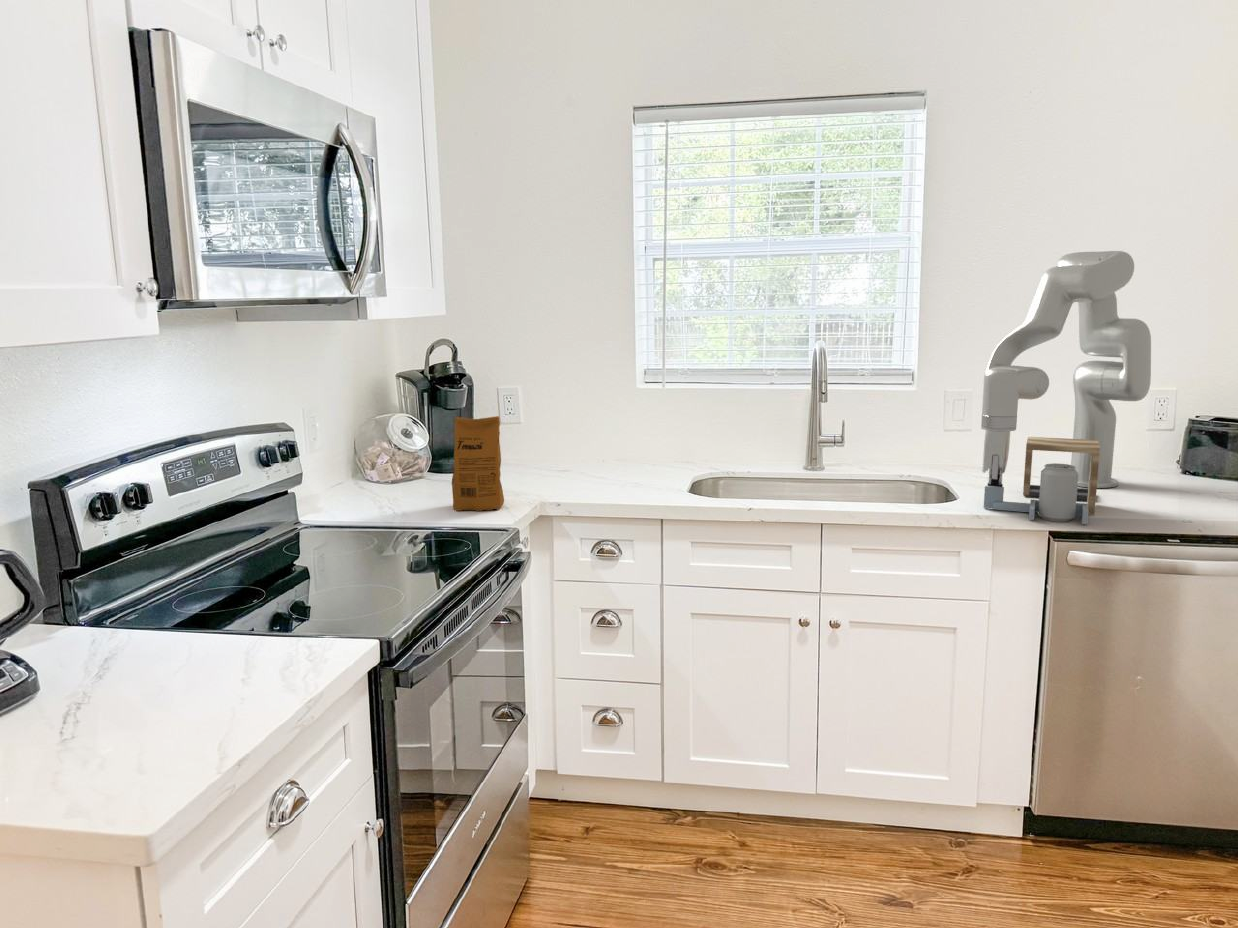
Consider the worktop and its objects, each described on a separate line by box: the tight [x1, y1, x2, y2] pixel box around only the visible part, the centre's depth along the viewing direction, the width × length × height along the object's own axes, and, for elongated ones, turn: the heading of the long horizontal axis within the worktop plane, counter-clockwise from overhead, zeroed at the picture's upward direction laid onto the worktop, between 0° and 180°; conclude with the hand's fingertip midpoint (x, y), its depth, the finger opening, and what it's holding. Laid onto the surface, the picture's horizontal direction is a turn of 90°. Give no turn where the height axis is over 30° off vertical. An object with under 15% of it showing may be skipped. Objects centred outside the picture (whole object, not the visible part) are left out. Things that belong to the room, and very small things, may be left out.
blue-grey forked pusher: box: [983, 485, 1089, 525], centre depth 208 cm, size 10×21×5 cm, turn 65°
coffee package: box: [451, 415, 505, 512], centre depth 223 cm, size 10×12×22 cm
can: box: [1037, 462, 1079, 523], centre depth 205 cm, size 8×8×12 cm
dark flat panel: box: [1023, 484, 1088, 502], centre depth 229 cm, size 8×15×1 cm, turn 65°
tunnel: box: [1022, 436, 1100, 516], centre depth 216 cm, size 12×15×15 cm
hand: (994, 500), depth 218 cm, fingers closed
